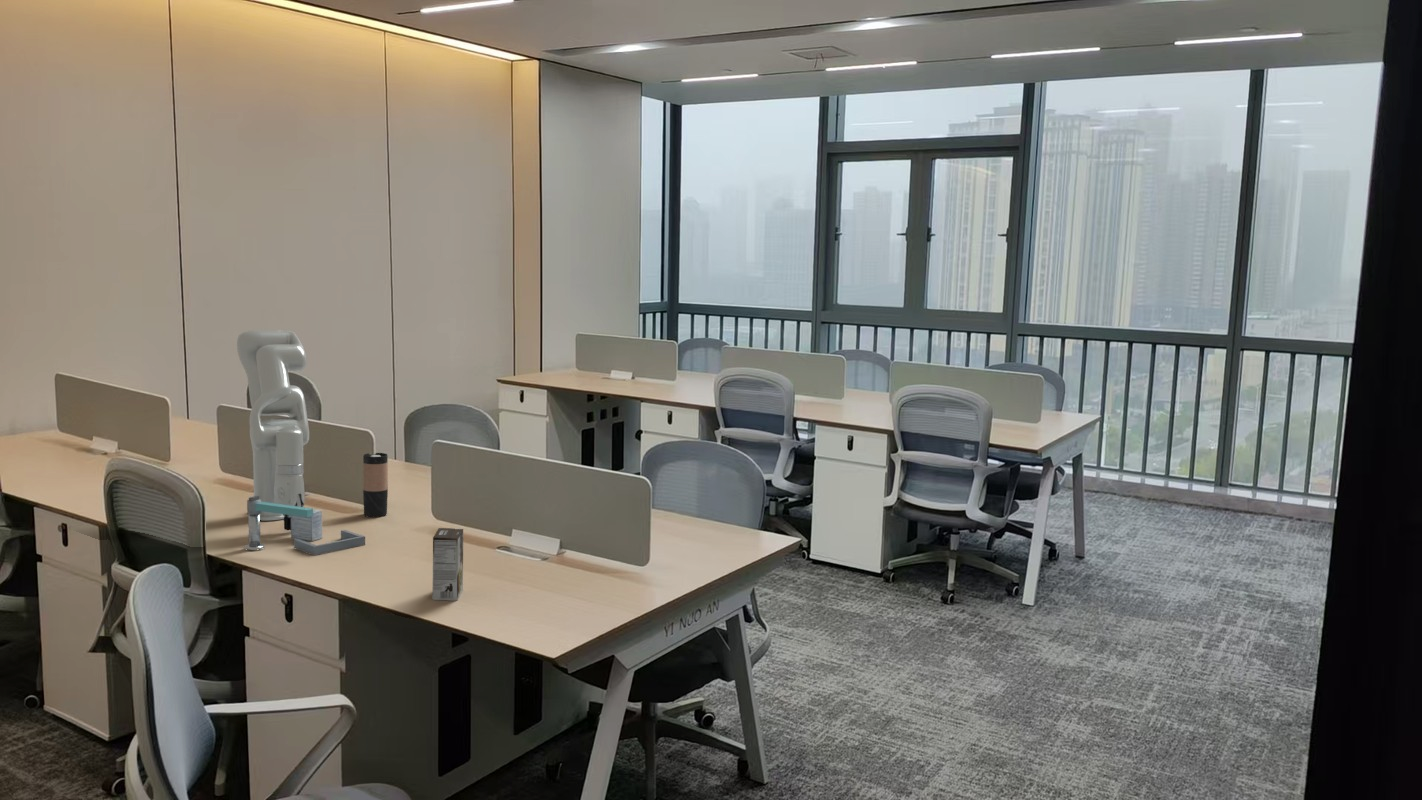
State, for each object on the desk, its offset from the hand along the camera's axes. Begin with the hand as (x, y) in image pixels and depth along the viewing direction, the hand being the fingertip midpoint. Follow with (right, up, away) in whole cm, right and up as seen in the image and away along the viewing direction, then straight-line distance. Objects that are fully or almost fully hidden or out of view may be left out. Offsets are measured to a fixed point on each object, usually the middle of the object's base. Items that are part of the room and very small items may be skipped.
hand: (290, 529), depth 308 cm
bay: (+16, -3, -12) cm, 21 cm away
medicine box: (+7, -2, -5) cm, 9 cm away
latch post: (-3, -3, -18) cm, 18 cm away
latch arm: (+6, +6, -22) cm, 23 cm away
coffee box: (+61, -10, -51) cm, 80 cm away
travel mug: (+17, +1, +26) cm, 31 cm away
